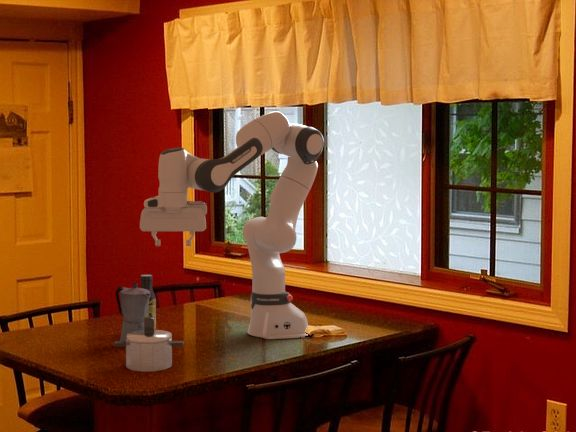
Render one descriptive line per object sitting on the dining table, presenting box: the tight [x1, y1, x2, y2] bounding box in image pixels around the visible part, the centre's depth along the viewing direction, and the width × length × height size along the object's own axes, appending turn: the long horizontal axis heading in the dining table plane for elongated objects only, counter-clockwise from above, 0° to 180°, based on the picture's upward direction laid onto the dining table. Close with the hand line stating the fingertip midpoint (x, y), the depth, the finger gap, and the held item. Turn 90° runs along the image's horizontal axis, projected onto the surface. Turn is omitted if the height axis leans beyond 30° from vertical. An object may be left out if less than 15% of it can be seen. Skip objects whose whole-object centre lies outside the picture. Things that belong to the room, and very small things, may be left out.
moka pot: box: [115, 282, 151, 341], centre depth 301 cm, size 10×15×20 cm, turn 58°
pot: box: [113, 338, 185, 372], centre depth 276 cm, size 20×13×8 cm, turn 93°
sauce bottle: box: [139, 274, 157, 330], centre depth 316 cm, size 6×6×20 cm
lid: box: [127, 317, 173, 344], centre depth 275 cm, size 13×13×6 cm
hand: (173, 245), depth 290 cm, fingers open, 8 cm apart
